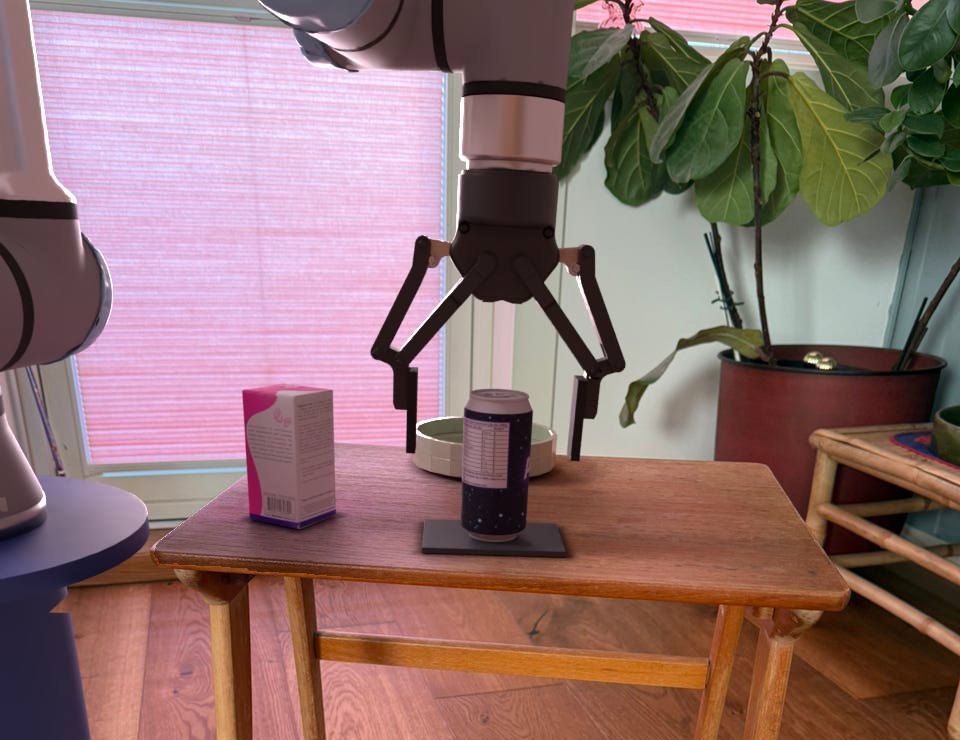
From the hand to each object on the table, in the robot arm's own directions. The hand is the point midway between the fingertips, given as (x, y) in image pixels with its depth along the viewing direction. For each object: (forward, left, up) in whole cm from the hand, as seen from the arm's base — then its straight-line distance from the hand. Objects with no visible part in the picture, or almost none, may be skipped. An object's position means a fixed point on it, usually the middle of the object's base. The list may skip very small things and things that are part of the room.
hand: (492, 454), depth 76 cm
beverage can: (0, 0, -7) cm, 7 cm away
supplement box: (-18, +5, -8) cm, 20 cm away
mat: (0, 0, -7) cm, 8 cm away
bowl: (0, +27, -7) cm, 28 cm away
